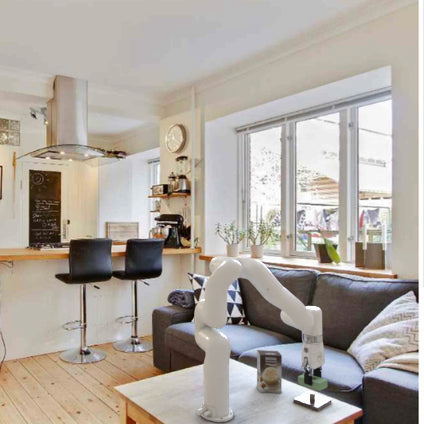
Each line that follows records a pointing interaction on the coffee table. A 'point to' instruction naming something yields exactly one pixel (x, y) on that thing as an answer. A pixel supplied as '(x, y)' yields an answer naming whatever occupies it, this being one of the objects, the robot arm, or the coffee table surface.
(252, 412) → the coffee table surface
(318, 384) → the green block with hole
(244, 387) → the coffee table surface
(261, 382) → the coffee box
